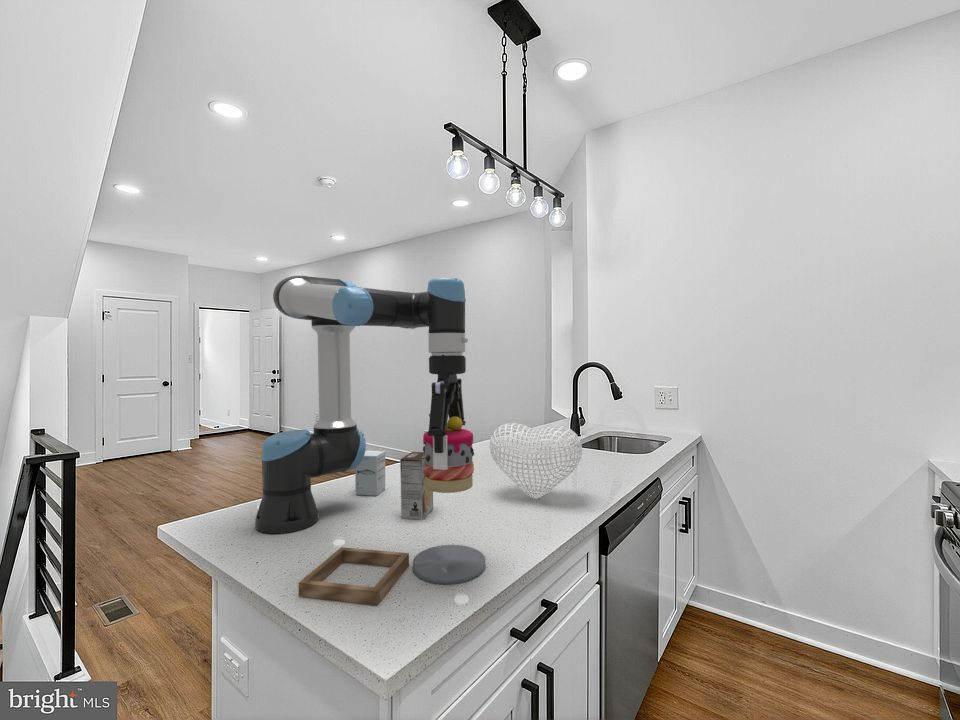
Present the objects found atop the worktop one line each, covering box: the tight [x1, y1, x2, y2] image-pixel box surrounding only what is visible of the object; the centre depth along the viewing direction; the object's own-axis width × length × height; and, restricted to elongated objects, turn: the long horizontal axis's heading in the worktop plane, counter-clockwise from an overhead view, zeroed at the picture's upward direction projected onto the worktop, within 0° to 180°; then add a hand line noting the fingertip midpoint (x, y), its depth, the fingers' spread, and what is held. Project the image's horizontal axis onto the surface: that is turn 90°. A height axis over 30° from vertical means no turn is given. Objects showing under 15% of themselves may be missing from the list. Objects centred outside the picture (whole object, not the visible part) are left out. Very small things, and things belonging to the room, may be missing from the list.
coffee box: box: [399, 451, 434, 521], centre depth 126 cm, size 9×6×16 cm
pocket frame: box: [297, 546, 410, 606], centre depth 90 cm, size 15×15×2 cm
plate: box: [412, 544, 486, 585], centre depth 95 cm, size 15×15×1 cm
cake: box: [422, 413, 475, 494], centre depth 95 cm, size 10×11×15 cm
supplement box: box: [354, 450, 386, 497], centre depth 145 cm, size 7×7×13 cm
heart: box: [489, 422, 583, 499], centre depth 138 cm, size 28×16×22 cm, turn 65°
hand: (448, 462), depth 95 cm, fingers closed on cake, 10 cm apart
